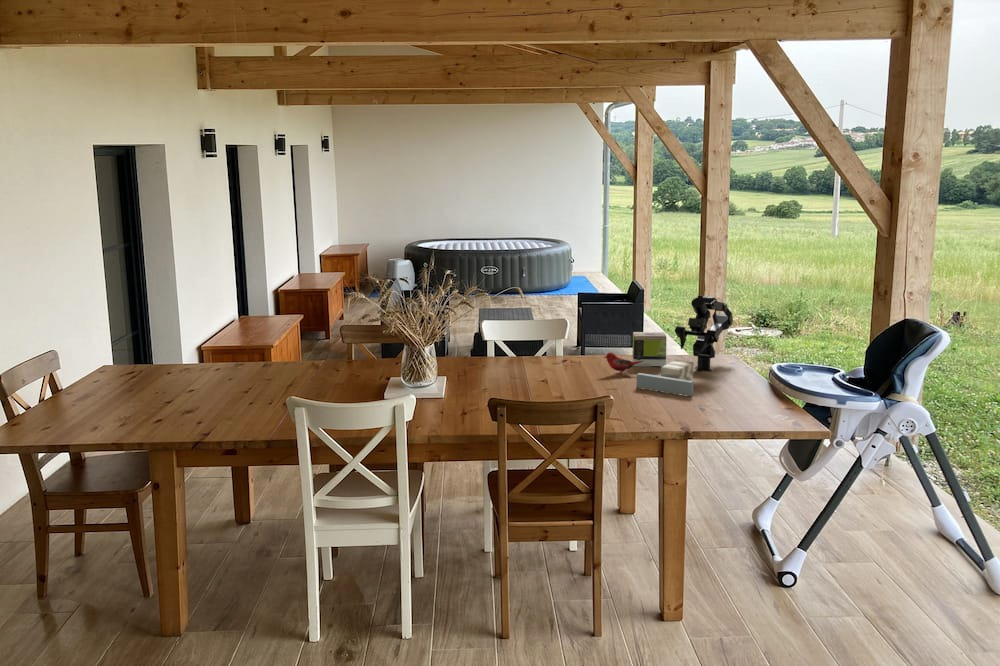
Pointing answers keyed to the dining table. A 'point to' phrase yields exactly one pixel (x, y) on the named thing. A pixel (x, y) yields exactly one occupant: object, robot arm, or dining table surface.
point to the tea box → (649, 348)
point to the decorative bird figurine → (619, 363)
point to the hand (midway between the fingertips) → (690, 350)
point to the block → (678, 370)
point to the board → (665, 384)
